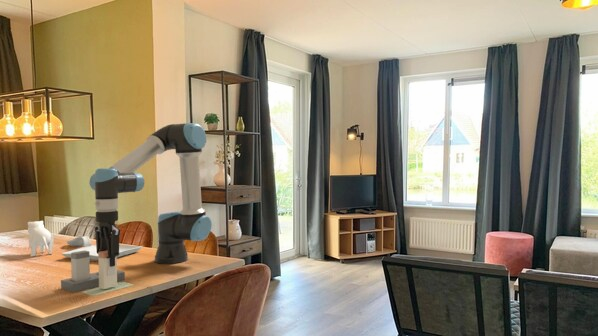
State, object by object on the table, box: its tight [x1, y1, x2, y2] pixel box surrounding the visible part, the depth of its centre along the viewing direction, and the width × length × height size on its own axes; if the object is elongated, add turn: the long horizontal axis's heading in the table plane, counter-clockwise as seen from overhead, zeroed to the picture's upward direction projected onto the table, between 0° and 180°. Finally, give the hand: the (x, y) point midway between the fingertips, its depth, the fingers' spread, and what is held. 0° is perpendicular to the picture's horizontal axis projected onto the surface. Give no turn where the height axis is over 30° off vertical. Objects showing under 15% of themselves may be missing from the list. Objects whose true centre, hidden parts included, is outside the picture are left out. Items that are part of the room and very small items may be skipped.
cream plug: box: [98, 250, 118, 289], centre depth 156 cm, size 5×4×13 cm
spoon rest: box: [66, 235, 93, 248], centre depth 239 cm, size 24×12×7 cm, turn 44°
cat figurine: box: [23, 220, 55, 258], centre depth 221 cm, size 25×10×17 cm, turn 47°
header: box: [60, 269, 126, 294], centre depth 162 cm, size 20×9×4 cm, turn 144°
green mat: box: [81, 281, 134, 297], centre depth 157 cm, size 16×8×1 cm, turn 144°
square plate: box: [60, 243, 143, 262], centre depth 217 cm, size 27×27×4 cm
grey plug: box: [70, 250, 91, 282], centre depth 158 cm, size 5×4×13 cm
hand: (108, 274), depth 156 cm, fingers closed on cream plug, 3 cm apart
